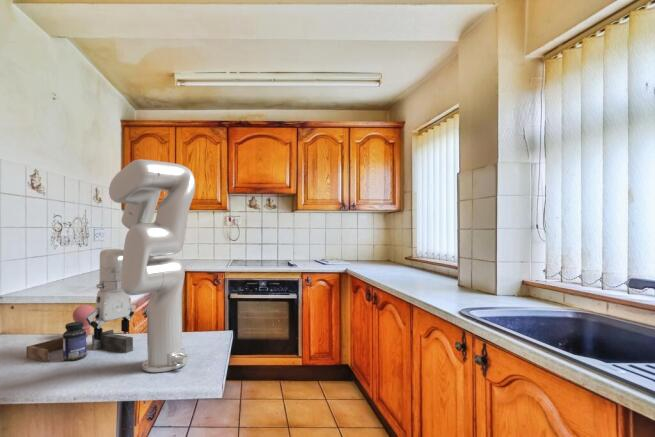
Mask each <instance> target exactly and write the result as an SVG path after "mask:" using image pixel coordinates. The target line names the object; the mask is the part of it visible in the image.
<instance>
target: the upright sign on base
mask: <svg viewBox="0 0 655 437" xmlns="http://www.w3.org/2000/svg"><path fill="white" fill-rule="evenodd" d="M114 332H115V331H114V330H113V329H110V330H105V331H103V339H102V340H96V339H95V338H94V334H92V335H91V343H92V344H91V345H92V346H91V350H92V351H96V350H99V349H103V350H108V351H114V352H119V353H124V354H125V353H126V354H127V353H131V352H133V351H134V339H133V338H134V337H132V336H128V335H127V336H126V335H120V334H116V333H115V334H114Z"/></svg>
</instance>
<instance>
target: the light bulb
mask: <svg viewBox="0 0 655 437" xmlns="http://www.w3.org/2000/svg"><path fill="white" fill-rule="evenodd" d="M94 310H95V308H94V307H93V306H92V305H89V304H82V305H79V306H77V307H76V308H75V309H74V310H73V312H72V319H73V322H83V327H82V329H84V330H85V331H86V337H87V336H90V334H91V329H90V328H92V326H91V325H90V324H89V322H88V321H87V319H86V316H88V315H89V314H90V313H92V312H93V311H94ZM94 319H95V317H94V318H93V320H94Z"/></svg>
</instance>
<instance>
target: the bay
mask: <svg viewBox="0 0 655 437" xmlns="http://www.w3.org/2000/svg"><path fill="white" fill-rule="evenodd" d="M61 349H63V336H62V337H57V338H54V339H50V340H47V341H44V342H43V341H42V342H39V343H35V344H32V345H28V346H26V359H32V360H34V361H35V360H36V361H38V362H44V363H46V362H49V353H51V352H53V351H57V350H61Z"/></svg>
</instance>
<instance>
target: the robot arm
mask: <svg viewBox="0 0 655 437" xmlns="http://www.w3.org/2000/svg"><path fill="white" fill-rule="evenodd" d="M162 192H168V193H166V195H165V196H164V197H163V198H162V199H161V201H160V202H159V199H160V196H161V193H162ZM195 192H196V178H195V176H194V173H193V172H192V170H190V169H189V168H188V167H187V166H184V165H183V164H180V163H174V162H169V161H159V160H151V159H143V158H142V159H141V158H140V159H139V158H138V159H135V160H132V161H131V162H130V163H128V164H127V165H125V166H124V168H122V169H121V170H119V171H118V172H117V173H116V174H115V175H114V177H113V178H112V179H111V182H110V184H109V187H108V194H109V198H110V199H111V201H113V202H114V203H118V204H125V206H124V210H123V214H122V216H121V220H120V221H121V223H122V225H123V226H124V227H125V228H127V229H128V231H127V233H126V235H125V239H124V243H123V249H122V248H106V249H102V250H101V251H100V252H99V283H98V284H97V283H96V286H95V287H96V289H99V290H98V291H97V293H96V299H95V304H94V305H95V306H94V311H93V312H92V313H90V314H89V315H88V316H86V319H87V321H88V322H89V324H90V326H91V328H92V329H93V335H94V338H95V339H96V340H102V339H103V332H104V329H103V328H102V326H103V324H104V323H106V322H111V321H115V320H116V321H117V320H119V319H121V330H120V331H121V332H123V333H130V321H131V320H132V317H133V315H134V314H135V312H136V309H137V306H136V305H135V304H131V302H130V296H140V295H147V294H151V293H152V294H151V296H150V298H149V300H148V301H147V302H148V303H147V306H146V330H147V332H146V334H147V336H146V337H147V338H146V340H147V344H146V345H147V359H146V360H144V361H143V362H142V364H141V369H142V370H143V371H145V372H147V373H162V372H163V373H164V372H170V371H173V370H177V369H180V368H183V367H184V366H185V365H187V364H188V362H189V360H190V359H191V354H186V352H185V350H186V349H185V348H184V347H183V318H182V317H183V316H182V315H183V314H182V313H183V312H182V310H183V309H182V306H183V304H182V302H183V301H182V300H183V298H182V297H183V287H184V284H185V283H184V282H185V276H186V274H185V271H186V270H185V266H184V264H183V262H181V260H179V259H177V258H174V257H164V256H171V255H175V254H179V253H180V252H181V251H182V250H183V246H184V244H185V240H186V231H187V226H188V224H187V223H188V219H189V211H190V208H191V205H192V201H193V198H194V196H195ZM158 203H159V204H158ZM156 209H157V210H156ZM155 212H156V216H155V220H154V221H153V219H154V215H155ZM161 256H162V257H161ZM155 257H159V258H155ZM160 257H161V258H160ZM93 318H94V319H95V320H94V319H93Z"/></svg>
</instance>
